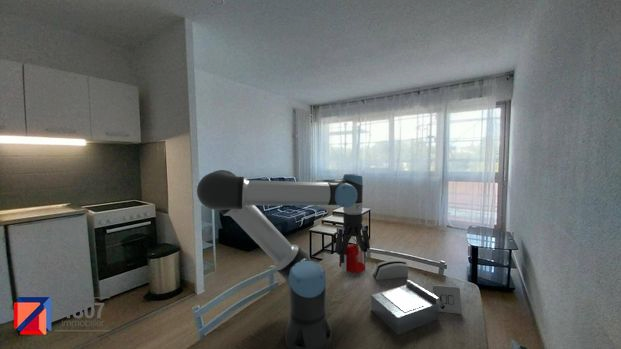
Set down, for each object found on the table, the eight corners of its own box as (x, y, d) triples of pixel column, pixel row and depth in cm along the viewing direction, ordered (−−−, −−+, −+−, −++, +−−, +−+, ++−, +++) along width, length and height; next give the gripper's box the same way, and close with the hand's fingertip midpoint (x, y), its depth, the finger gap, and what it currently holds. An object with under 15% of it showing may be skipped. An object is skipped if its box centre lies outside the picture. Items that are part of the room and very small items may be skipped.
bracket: (366, 270, 92) (366, 245, 92) (356, 275, 88) (356, 250, 88) (348, 263, 99) (349, 240, 98) (339, 267, 95) (339, 243, 94)
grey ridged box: (397, 335, 76) (397, 311, 76) (371, 310, 89) (371, 290, 89) (438, 319, 84) (438, 297, 83) (408, 298, 97) (408, 279, 96)
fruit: (364, 274, 117) (364, 245, 116) (343, 269, 123) (343, 241, 122) (370, 266, 126) (370, 239, 125) (351, 261, 132) (350, 235, 131)
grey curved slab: (402, 271, 119) (406, 256, 115) (407, 279, 115) (411, 263, 111) (372, 275, 116) (375, 259, 113) (376, 282, 112) (379, 267, 108)
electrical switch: (434, 312, 88) (434, 287, 88) (430, 305, 93) (430, 281, 93) (462, 315, 86) (461, 289, 86) (456, 307, 91) (456, 283, 91)
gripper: (334, 217, 85) (334, 277, 86) (379, 212, 93) (379, 267, 94) (325, 213, 92) (325, 268, 93) (368, 208, 100) (367, 260, 101)
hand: (352, 268), depth 93 cm, fingers closed on bracket, 8 cm apart
